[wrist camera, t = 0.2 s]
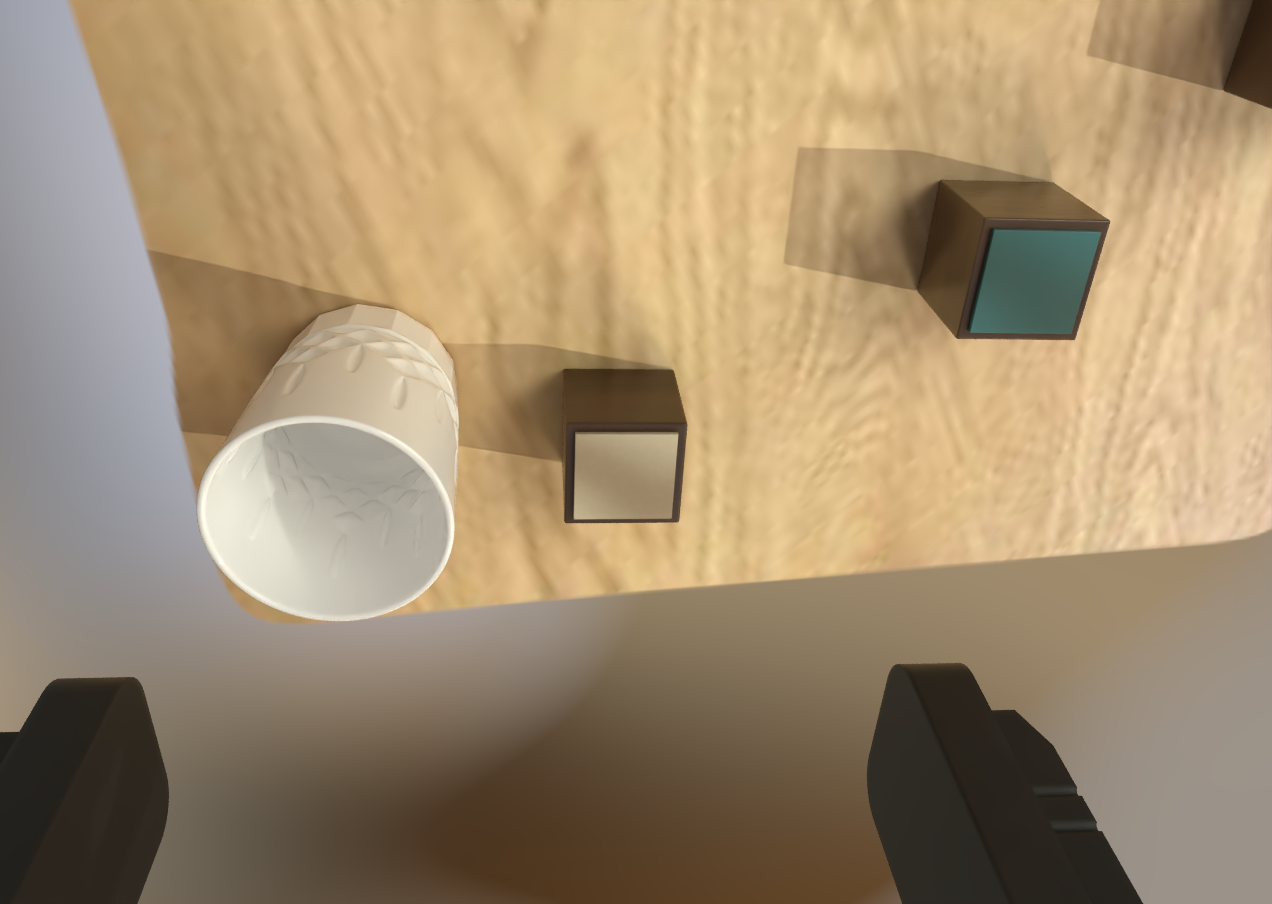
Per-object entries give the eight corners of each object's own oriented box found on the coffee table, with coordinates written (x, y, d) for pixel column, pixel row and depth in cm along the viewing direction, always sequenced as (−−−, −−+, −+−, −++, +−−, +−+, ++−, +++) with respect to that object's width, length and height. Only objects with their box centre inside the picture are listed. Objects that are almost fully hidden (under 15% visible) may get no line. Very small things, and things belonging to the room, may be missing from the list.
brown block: (563, 368, 41) (565, 425, 37) (674, 368, 41) (688, 426, 37) (562, 463, 43) (564, 527, 39) (667, 462, 43) (680, 526, 39)
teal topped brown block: (939, 179, 38) (986, 219, 34) (1054, 182, 38) (1114, 222, 34) (916, 291, 40) (958, 341, 36) (1025, 293, 41) (1078, 343, 37)
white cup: (482, 458, 43) (468, 612, 34) (293, 471, 42) (230, 631, 34) (459, 282, 38) (436, 407, 30) (249, 294, 38) (165, 426, 30)
